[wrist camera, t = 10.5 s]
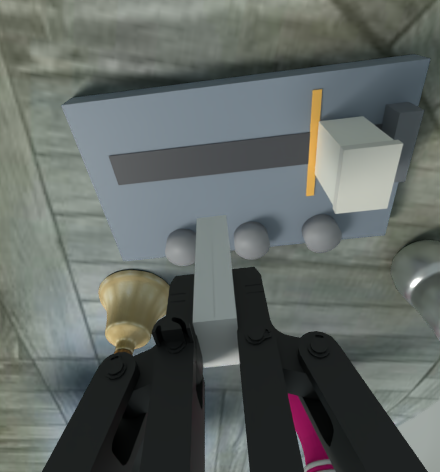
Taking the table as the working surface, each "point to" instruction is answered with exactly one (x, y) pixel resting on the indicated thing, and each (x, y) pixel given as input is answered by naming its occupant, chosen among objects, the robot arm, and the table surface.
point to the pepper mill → (309, 439)
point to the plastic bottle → (420, 279)
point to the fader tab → (356, 164)
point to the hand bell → (132, 307)
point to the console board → (239, 155)
